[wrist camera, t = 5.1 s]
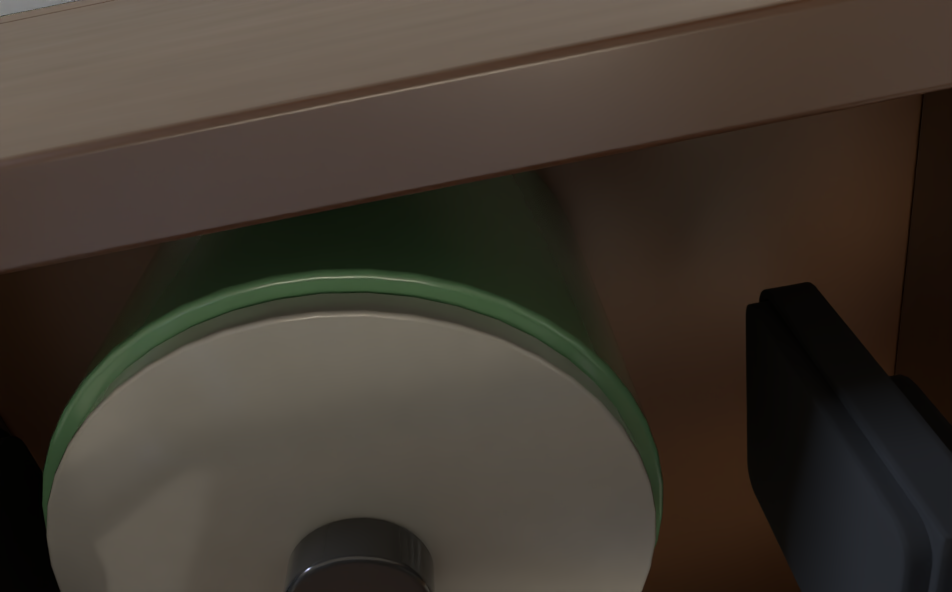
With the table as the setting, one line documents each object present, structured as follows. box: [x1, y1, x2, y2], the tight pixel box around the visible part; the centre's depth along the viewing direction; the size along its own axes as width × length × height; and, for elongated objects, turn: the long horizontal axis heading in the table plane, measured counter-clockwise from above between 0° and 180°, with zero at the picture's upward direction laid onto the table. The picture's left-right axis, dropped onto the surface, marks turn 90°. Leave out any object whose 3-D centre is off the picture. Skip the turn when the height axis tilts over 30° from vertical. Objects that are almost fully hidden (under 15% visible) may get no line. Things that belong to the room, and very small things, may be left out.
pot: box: [42, 170, 664, 592], centre depth 11 cm, size 7×7×6 cm
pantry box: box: [0, 0, 952, 592], centre depth 12 cm, size 16×18×8 cm
